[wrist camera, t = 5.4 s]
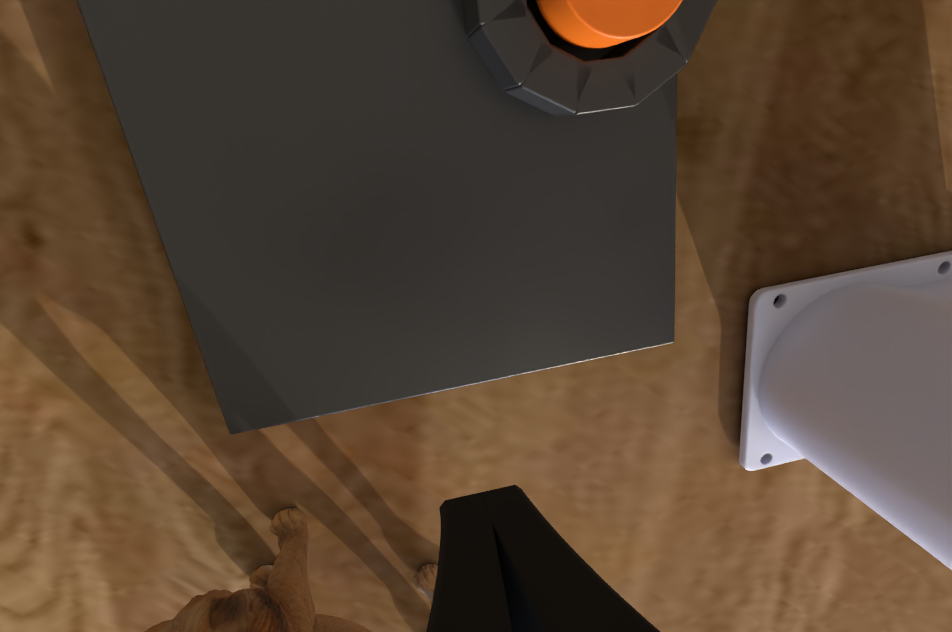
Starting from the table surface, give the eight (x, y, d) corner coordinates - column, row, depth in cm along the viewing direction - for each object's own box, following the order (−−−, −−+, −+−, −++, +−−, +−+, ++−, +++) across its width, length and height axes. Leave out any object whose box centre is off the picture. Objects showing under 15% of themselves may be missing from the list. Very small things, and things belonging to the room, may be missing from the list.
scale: (658, -141, 14) (727, -204, 12) (658, 330, 19) (707, 364, 17) (64, -94, 12) (-24, -157, 10) (238, 416, 17) (213, 471, 15)
